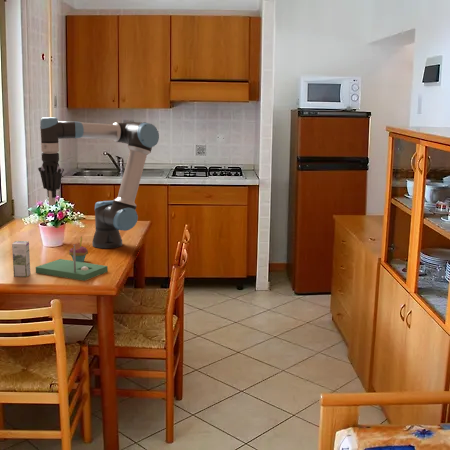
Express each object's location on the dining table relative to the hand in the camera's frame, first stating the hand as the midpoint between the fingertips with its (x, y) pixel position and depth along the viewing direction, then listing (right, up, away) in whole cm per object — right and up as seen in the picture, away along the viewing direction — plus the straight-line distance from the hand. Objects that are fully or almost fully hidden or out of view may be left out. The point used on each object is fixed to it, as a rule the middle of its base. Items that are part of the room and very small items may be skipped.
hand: (52, 204), depth 286 cm
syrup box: (-8, -31, -19) cm, 37 cm away
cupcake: (+11, -26, +5) cm, 29 cm away
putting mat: (+12, -30, -13) cm, 34 cm away
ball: (+18, -29, -16) cm, 38 cm away
